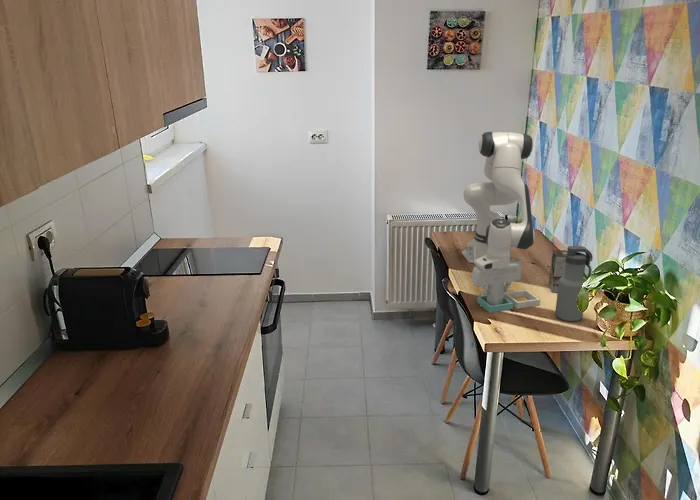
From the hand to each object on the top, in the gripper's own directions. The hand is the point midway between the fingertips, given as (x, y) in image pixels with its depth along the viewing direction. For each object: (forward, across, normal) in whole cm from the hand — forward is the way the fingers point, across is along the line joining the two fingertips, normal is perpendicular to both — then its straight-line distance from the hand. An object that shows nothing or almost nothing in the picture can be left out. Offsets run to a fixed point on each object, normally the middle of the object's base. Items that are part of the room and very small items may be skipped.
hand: (495, 293), depth 215 cm
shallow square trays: (+6, -6, 0) cm, 8 cm away
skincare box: (+5, 0, 0) cm, 5 cm away
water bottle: (+6, -22, +17) cm, 29 cm away
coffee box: (+6, -34, -7) cm, 35 cm away
